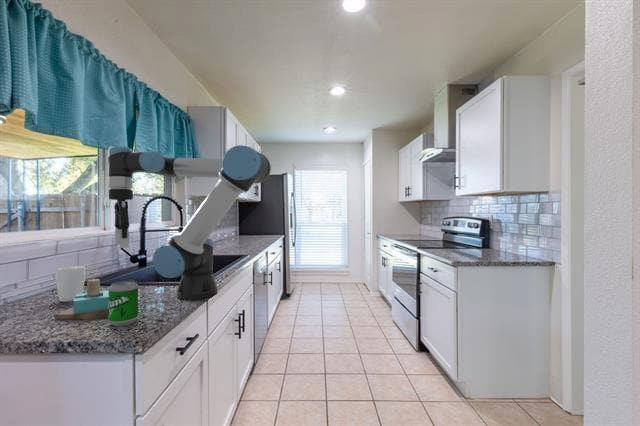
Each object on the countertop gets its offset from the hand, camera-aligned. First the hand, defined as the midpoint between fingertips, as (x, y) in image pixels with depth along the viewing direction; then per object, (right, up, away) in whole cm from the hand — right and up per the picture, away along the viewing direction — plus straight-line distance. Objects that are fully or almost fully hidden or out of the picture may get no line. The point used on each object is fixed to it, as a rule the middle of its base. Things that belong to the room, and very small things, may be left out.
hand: (122, 246), depth 114 cm
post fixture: (-2, -21, -11) cm, 24 cm away
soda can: (+14, -21, -21) cm, 33 cm away
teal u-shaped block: (-2, -19, -11) cm, 22 cm away
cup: (-22, -21, +3) cm, 30 cm away
